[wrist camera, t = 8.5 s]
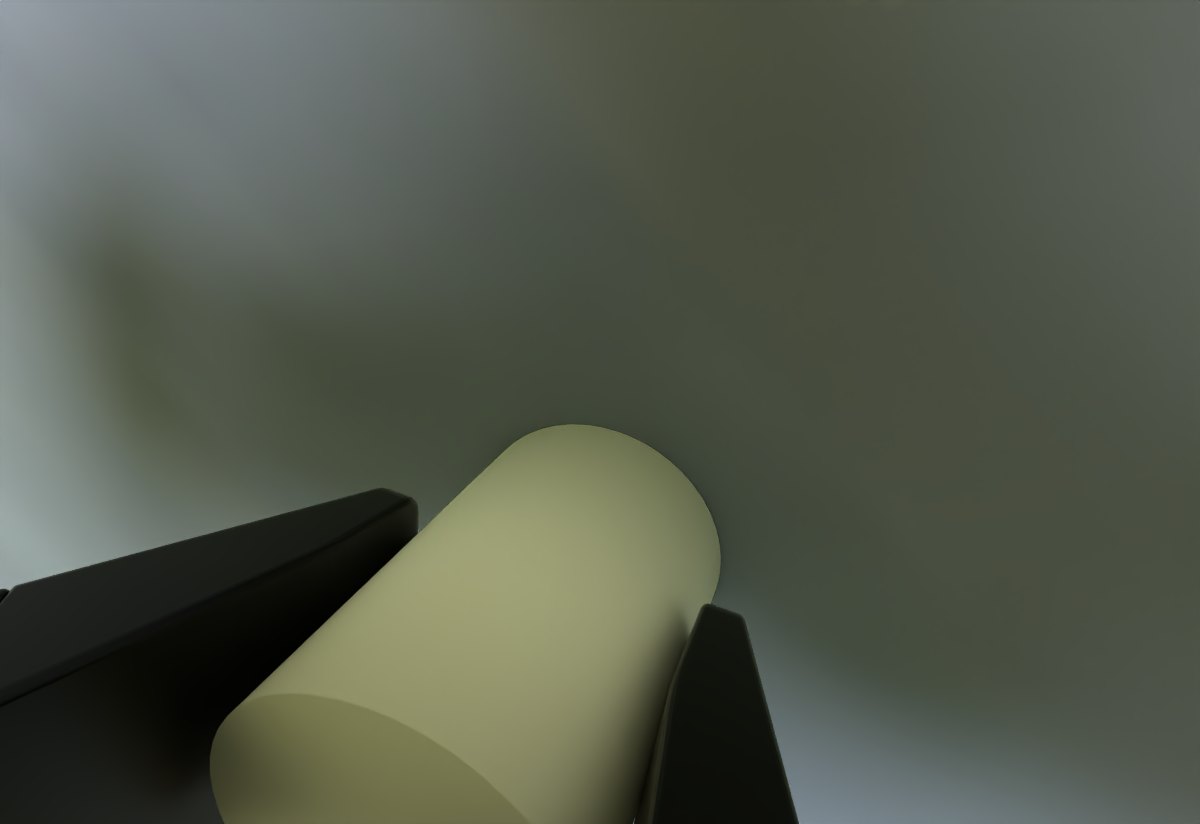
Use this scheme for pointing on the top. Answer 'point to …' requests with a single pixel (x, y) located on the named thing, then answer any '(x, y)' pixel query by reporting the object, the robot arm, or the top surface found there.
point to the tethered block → (491, 654)
